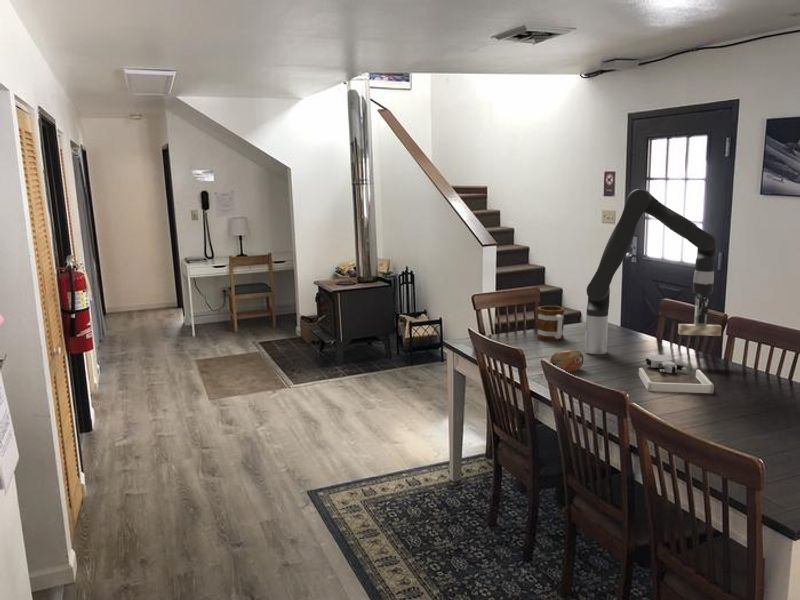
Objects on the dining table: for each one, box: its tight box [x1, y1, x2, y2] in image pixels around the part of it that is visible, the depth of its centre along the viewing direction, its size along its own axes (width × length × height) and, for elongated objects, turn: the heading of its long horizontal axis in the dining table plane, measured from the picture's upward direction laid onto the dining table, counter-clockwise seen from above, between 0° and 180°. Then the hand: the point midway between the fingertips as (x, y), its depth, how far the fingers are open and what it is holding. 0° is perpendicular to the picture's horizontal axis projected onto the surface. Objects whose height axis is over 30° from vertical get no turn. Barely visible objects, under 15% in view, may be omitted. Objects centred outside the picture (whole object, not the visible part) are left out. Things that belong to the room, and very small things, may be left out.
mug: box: [536, 305, 565, 342], centre depth 310 cm, size 20×14×15 cm
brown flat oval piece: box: [549, 349, 584, 373], centre depth 261 cm, size 15×3×8 cm, turn 112°
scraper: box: [677, 305, 723, 337], centre depth 266 cm, size 16×3×12 cm, turn 79°
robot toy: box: [641, 354, 687, 374], centre depth 260 cm, size 12×4×15 cm
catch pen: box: [638, 367, 715, 394], centre depth 242 cm, size 22×19×3 cm
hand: (700, 322), depth 266 cm, fingers closed on scraper, 3 cm apart
